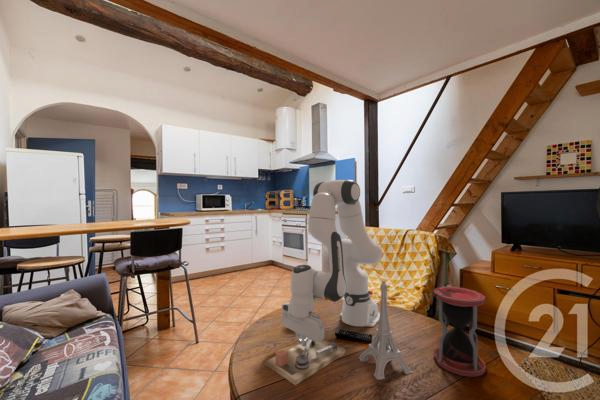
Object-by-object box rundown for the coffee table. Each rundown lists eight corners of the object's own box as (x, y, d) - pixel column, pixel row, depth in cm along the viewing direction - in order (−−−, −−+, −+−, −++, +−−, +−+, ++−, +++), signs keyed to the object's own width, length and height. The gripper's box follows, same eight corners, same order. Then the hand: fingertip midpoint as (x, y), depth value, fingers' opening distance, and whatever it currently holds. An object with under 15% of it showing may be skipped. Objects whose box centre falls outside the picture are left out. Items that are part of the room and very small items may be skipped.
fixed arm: (300, 371, 92) (300, 364, 92) (292, 365, 96) (292, 358, 96) (340, 352, 103) (340, 346, 103) (331, 347, 107) (331, 341, 107)
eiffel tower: (377, 380, 90) (377, 287, 90) (358, 358, 103) (357, 277, 103) (412, 373, 94) (412, 284, 94) (389, 352, 107) (389, 274, 107)
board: (315, 339, 116) (315, 335, 116) (345, 353, 106) (345, 349, 106) (266, 365, 98) (266, 360, 98) (295, 385, 87) (295, 379, 87)
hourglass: (460, 348, 109) (459, 284, 109) (497, 373, 93) (497, 298, 93) (424, 353, 106) (423, 287, 106) (456, 380, 90) (456, 302, 90)
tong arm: (306, 369, 93) (306, 362, 93) (295, 367, 94) (294, 360, 94) (316, 342, 111) (316, 336, 111) (306, 340, 112) (306, 335, 112)
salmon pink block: (282, 359, 98) (282, 349, 98) (287, 363, 96) (287, 353, 96) (275, 363, 96) (275, 353, 96) (281, 366, 94) (281, 356, 94)
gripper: (328, 314, 101) (328, 352, 101) (290, 299, 116) (290, 333, 116) (316, 319, 97) (316, 359, 97) (278, 303, 112) (279, 338, 112)
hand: (302, 344), depth 107 cm, fingers closed
